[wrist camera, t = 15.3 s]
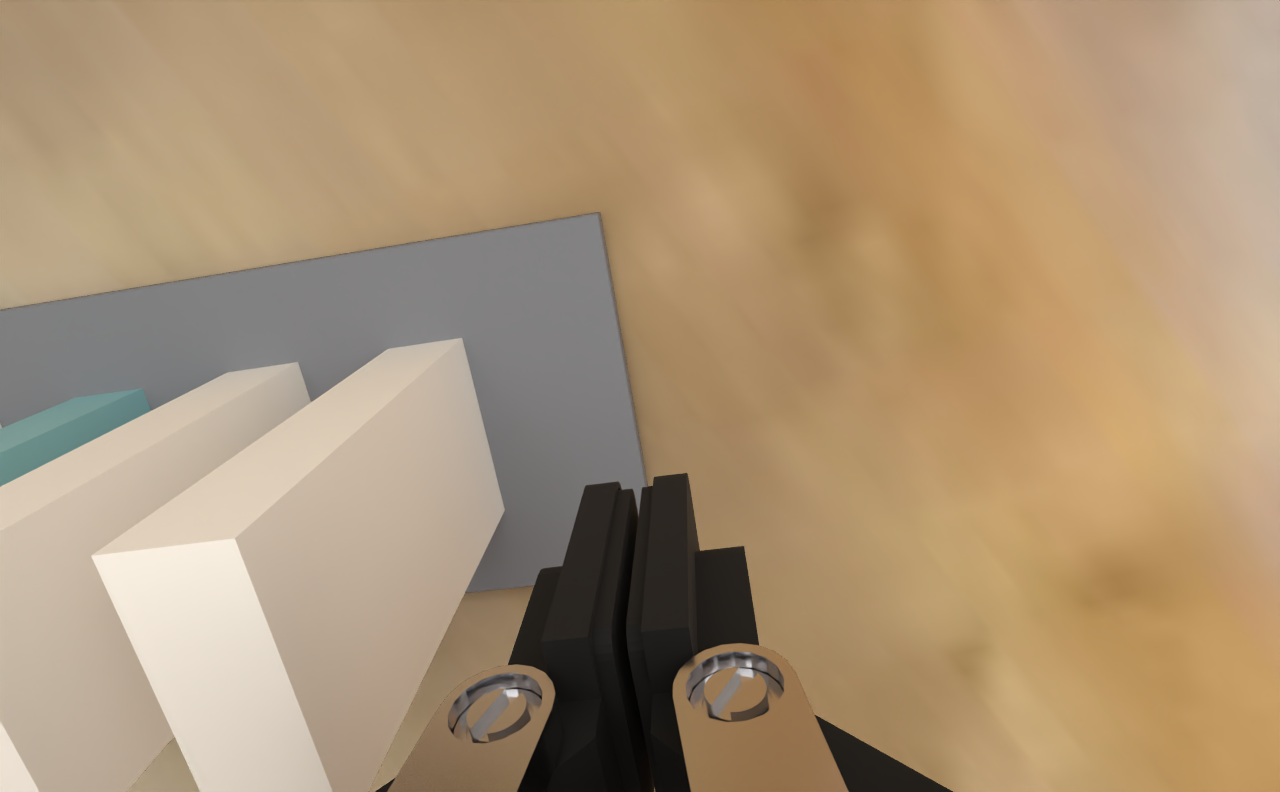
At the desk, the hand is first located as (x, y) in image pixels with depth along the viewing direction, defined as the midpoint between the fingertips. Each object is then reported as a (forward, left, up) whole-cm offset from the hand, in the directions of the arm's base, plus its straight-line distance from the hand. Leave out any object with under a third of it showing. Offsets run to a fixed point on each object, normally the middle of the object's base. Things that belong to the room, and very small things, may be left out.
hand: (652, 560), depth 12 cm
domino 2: (0, +6, -8) cm, 9 cm away
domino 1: (0, +10, -8) cm, 13 cm away
